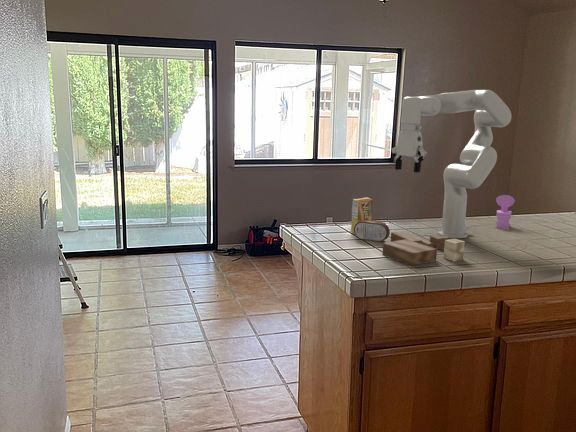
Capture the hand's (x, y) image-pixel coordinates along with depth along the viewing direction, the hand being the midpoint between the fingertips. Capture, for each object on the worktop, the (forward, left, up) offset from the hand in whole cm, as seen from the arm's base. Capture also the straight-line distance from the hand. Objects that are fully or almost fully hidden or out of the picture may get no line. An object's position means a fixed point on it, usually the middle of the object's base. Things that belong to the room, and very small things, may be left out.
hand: (407, 170), depth 220 cm
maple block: (0, +28, -30) cm, 41 cm away
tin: (+10, -8, -30) cm, 33 cm away
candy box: (+5, -21, -30) cm, 37 cm away
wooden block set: (-3, +6, -31) cm, 31 cm away
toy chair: (-63, +1, -30) cm, 70 cm away
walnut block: (+14, +19, -30) cm, 38 cm away
